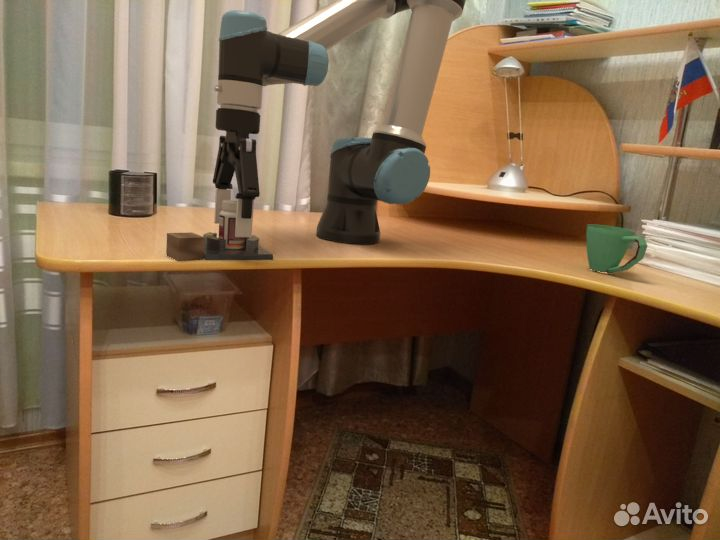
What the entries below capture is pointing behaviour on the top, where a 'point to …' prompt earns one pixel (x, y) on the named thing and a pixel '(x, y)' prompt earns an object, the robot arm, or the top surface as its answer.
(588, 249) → the mug
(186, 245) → the walnut block
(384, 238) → the top surface
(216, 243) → the socket
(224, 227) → the pill bottle
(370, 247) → the top surface
